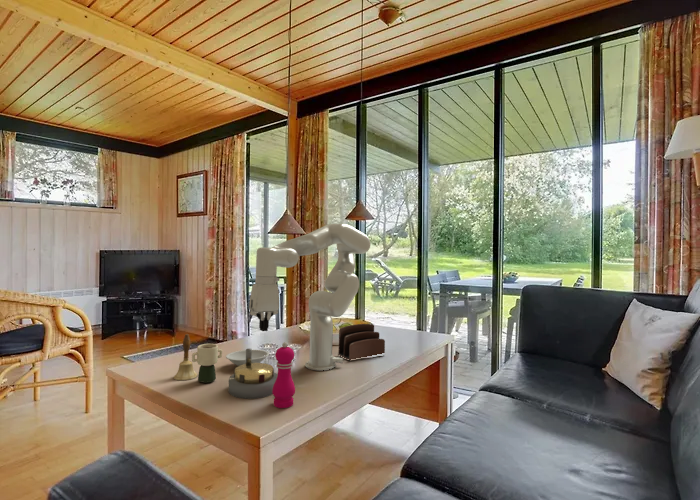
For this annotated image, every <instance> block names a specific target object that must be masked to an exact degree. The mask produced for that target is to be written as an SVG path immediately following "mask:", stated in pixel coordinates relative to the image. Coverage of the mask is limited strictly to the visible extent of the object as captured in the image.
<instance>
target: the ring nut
mask: <svg viewBox="0 0 700 500" xmlns="http://www.w3.org/2000/svg"><path fill="white" fill-rule="evenodd" d="M245 350H246V364H243V365H240V366H238V365H237V367H235V369H234V370H233V374H234V377H235V380H236V381H238V382H240V383H245V384H257V383H263V382H267V381H269V380H271V379H272V378H273V377H274V373H275V368H274V366H273V365H271V364H268V363H264V362H260V363H251V358H252V350H253V349H252V348H246V349H245Z"/></svg>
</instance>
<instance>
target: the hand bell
mask: <svg viewBox="0 0 700 500" xmlns="http://www.w3.org/2000/svg"><path fill="white" fill-rule="evenodd" d="M182 340H183V341H182V348H183V360H182V361H180V363H179V367H178V369H177V372H176V373H175V375H173V379H174V380H176V381H189V380H190V381H191V380H193V379H195V378H198V373H197V372H196V371H195V369H194V367H193V362H192V360H191V361H190V360H189V354H190V353H189V351H190V347H191V339H190V335H189V334H188V333H186V334H184V338H183V339H182Z"/></svg>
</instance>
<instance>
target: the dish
mask: <svg viewBox="0 0 700 500" xmlns="http://www.w3.org/2000/svg"><path fill="white" fill-rule="evenodd" d="M264 355H265V356H264ZM269 355H270V352H269V351H267V350H264V349H252V358H251V363H263V361H264V360H265V359H266V358H267V357H269ZM225 358H226V359H227V360H229V362H230V363H232V364H234V365H235V366H237V367H238V366H240V365H243V364H246V349H244V350H237V351H231V352H230V353H227V354H226V355H225Z"/></svg>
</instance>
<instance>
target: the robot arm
mask: <svg viewBox="0 0 700 500" xmlns="http://www.w3.org/2000/svg"><path fill="white" fill-rule="evenodd" d="M333 245H336V249H337V254H338V255H337V257H338V258H337V260H336V263H335V264H334V265H333V268H331V271H330V272H329V273H328V274H327V277H326V278H325V281H324V288H325V290H317V291H315V292H313V293H312V294H311V295H310V296H309V298H308V310H309V311H308V312H309V321H310V323H309V327H310V328H309V357H308V358H309V359H308V360H307V361H306V362H305V365H304V366H305V367H306V369H308V370H312V371H317V372H319V371H320V372H321V371H323V370H324V371H330V370H332V368H333V369H335V368H336V363H340V364H341V363H344V358H342V357H340V356H334V355H333V338H334V337H333V333H334V322H333V318H340V317H342V316H343V315H344V314H345V313H346V312H347V310H348V308H349V307H350V305H351V303H352V301H353V300H354V299H355V297H356V295H357V293H358V292H359V289H360V280H359V277H358V276H357V275H356V274H355V273H354V272H355V269H356V260H355V256H354V254H357V255H358V254H359V255H363V254H366V253H367V252H369V250H370V249H371V240H370V238H369V237H368V235H366V234H365V233H363V232H362V231H360V230H358V229H356V228H355V227H354V226H351V225H349V224H347V223H329V224H326V225H324V226H321V227H320V228H317V229H315V230H313V231H311V232H309V233H307V234H304V235H300V236H298V237H295V238H292V239H287V240H285V241H283V242H280V243H277V244H275V245H273V246H272V247H258V248H257V249H256V256H255V257H256V259H255V261H256V263H255V284H252V285H251V291H250V297H249V307H248V308H249V310H250V312H249V314H250V316H253V317H254V316H255V317H256V318H257V319H258V321H259V322H258V323H259V326H258V327H259V328H258V329H259V330H260V331H261V332H268V331H269V330H268V329H269V326H270V325H269V324H270V320H271V318H272V317H273V316H274V315H275V316H276V315H278V314H279V308H280V294H279V286H278V283H277V282H280V277H277V271H278V270H277V269H278V267H279V268H293V267H294V266H296V265H297V264H298V262H299V260H300V259H299V258H300V257H301V256H302V257H303V256H310V255H314V254H318V253H319V252H321V251H323V250H325V249H327V248H329V247H330V246H333ZM334 367H335V368H334ZM329 369H330V370H329Z"/></svg>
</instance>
